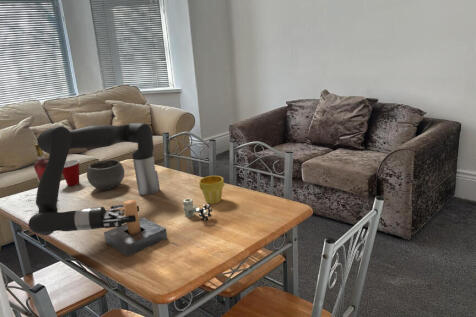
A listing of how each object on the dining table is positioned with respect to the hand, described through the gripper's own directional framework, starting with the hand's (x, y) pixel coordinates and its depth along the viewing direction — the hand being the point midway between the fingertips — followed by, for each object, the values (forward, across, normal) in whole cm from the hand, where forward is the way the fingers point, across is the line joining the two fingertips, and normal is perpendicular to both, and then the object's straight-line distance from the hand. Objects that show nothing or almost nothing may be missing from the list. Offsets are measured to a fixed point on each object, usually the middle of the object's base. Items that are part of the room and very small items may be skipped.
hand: (137, 213), depth 148 cm
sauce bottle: (-49, +52, +11) cm, 72 cm away
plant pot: (+27, +29, +11) cm, 41 cm away
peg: (-2, 0, +10) cm, 11 cm away
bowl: (-24, +63, +11) cm, 68 cm away
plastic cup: (-45, +74, +11) cm, 88 cm away
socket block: (-2, 0, +10) cm, 11 cm away
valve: (+20, +14, +11) cm, 27 cm away
